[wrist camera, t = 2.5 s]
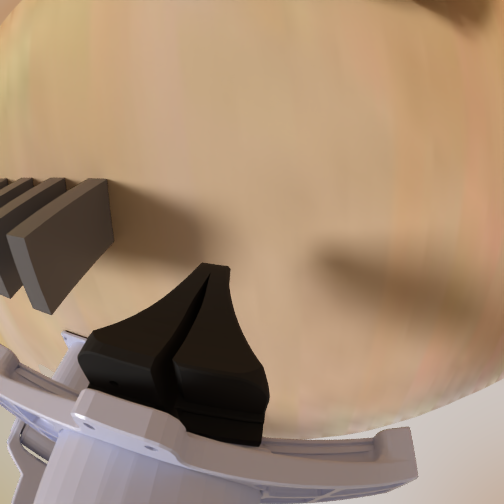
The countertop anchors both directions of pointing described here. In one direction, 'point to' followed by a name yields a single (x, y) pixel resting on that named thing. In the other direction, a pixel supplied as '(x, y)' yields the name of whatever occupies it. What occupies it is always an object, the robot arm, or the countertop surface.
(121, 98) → the countertop surface
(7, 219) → the domino
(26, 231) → the domino
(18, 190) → the domino
